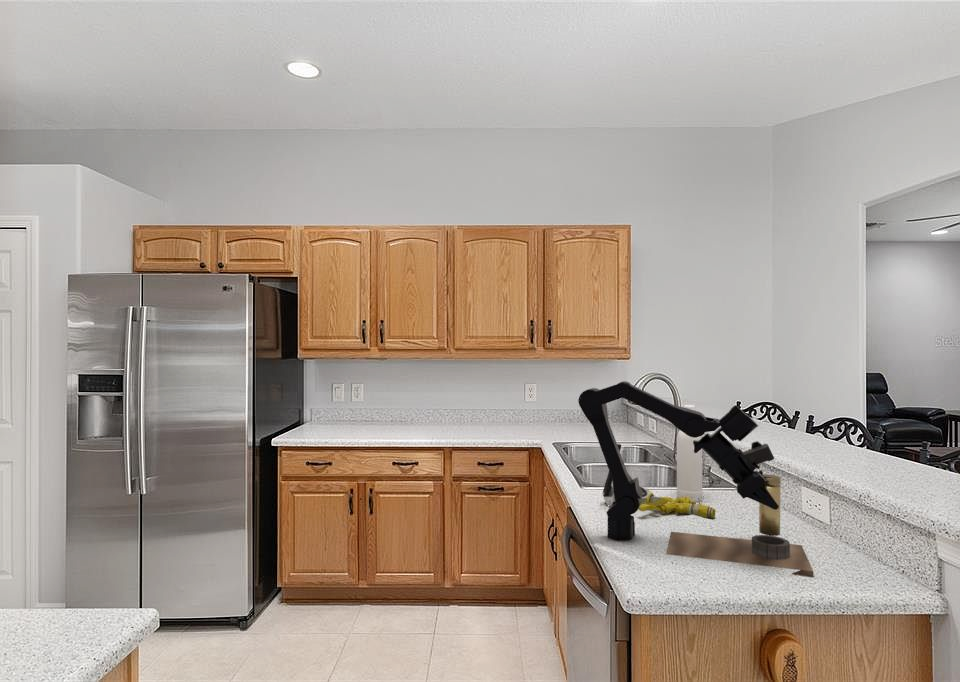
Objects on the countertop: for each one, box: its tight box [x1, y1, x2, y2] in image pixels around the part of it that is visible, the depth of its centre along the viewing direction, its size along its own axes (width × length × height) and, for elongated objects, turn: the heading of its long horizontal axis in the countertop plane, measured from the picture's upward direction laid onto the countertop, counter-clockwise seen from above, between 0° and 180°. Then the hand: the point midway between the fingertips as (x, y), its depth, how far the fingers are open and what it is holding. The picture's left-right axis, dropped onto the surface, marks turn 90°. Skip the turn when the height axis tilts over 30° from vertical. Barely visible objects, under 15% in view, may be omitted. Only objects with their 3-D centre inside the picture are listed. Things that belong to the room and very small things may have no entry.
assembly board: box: [665, 531, 814, 578], centre depth 143 cm, size 30×18×4 cm, turn 69°
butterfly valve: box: [602, 443, 656, 507], centre depth 188 cm, size 9×20×17 cm
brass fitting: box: [758, 473, 782, 537], centre depth 140 cm, size 4×4×13 cm
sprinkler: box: [637, 492, 716, 519], centre depth 177 cm, size 22×6×20 cm
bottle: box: [676, 404, 704, 503], centre depth 195 cm, size 8×8×30 cm
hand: (776, 505), depth 140 cm, fingers closed on brass fitting, 4 cm apart
